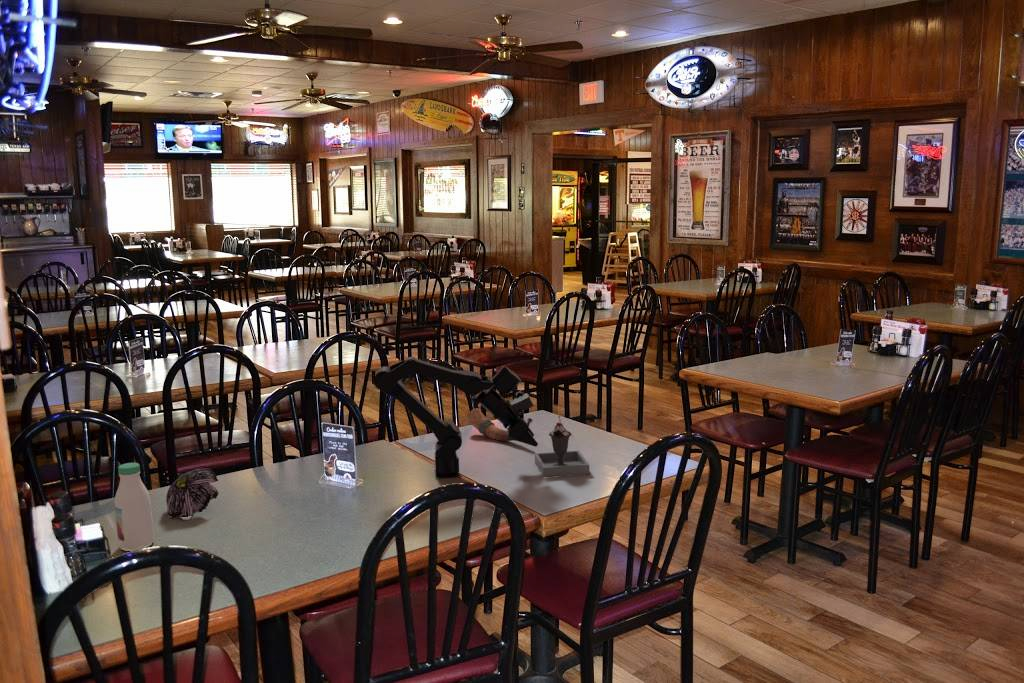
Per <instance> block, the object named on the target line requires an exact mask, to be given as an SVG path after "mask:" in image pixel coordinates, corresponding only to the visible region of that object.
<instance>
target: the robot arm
mask: <svg viewBox="0 0 1024 683" xmlns="http://www.w3.org/2000/svg"><path fill="white" fill-rule="evenodd" d="M410 374H415V375H418V376H420V377H421V376H422V377H424V378H427V379H428V378H429V379H431V380H434V381H439V382H441V383H445V384H448V385H451V386H453V387H455V388H456V389H457V390H459V391H461V392H463V393H464V394H467V395H470V396H472V397H471V398H472V406H473V408H476V407H477V406H478V405H479V404H480V405H481V406H482V407H483V408H484V409H485V410H487V411H488V412H489V413H490V414H491V415H492V417H493V419H495V420H497V421H499V422H500V424H502V425H503V426H502V427H503V428H504V429H506V431H507V434H508V437H509V438H511V439H512V441H515V442H519V443H523V444H526V445H529V446H532V447H538V446H539V443H538V442H537V440H536V438H534V436H535V434H534V432H533V431H532V429H531V428H530V425H528V423H527V422H528V421H527V420H525V416H524V415H525V414H524V411H525V410H527V409H530V408H533V407H534V403H533V401H532V399H531V397H530V395H529V393H526V392H525V393H523V392H522V391H518V392H515V398H513V400H511V401H510V400H509V399H505V398H504V397H502V396H505V395H509V394H510V393H511V392H513V390H515V388H516V387H517V386H518V385H519V384H520V383H521V382H522V380H521V378H520V377H519V376H518V375H517V374H516V372H514V371H513V370H511V369H510V368H509V367H507V366H506V365H502V366H501V368H500V369H499V370H498V371H497V373H496V374H494V376H489V375H487V376H486V375H481V374H479V373H478V372H476V371H472V370H471V371H470V370H457V369H456V370H455V369H450V368H448V367H445V366H443V365H442V366H441V365H438V364H434V363H432V362H428V361H425V360H421V359H418V358H416V357H414V356H408V357H406V358H405V359H404V360H401V361H399V362H396V363H394V364H392V365H389V366H381V367H379V368H378V369H377V370H376V372H375V375H374V377H373V385H374V387H375V388H376V389H377V390H379V391H380V392H382V393H383V394H385V395H387V396H388V397H391V398H394V399H395V400H397V401H398V402H399V403H400V404H401V405H402V406H404V407H405V408H406V409H407V410H408V411H409V412H410V413H411V414H413V416H415V417H416V418H417V419H418V421H421V423H423V424H424V425H425V426H426V427H427V428H428V429H429V430H431V432H432V433H433V435H434V437H435V438H436V440H437V441H436V442H435V448H434V449H435V450H434V451H435V452H434V474H435V475H434V476H435V478H436V477H437V479H439V478H438V477H442V478H453V477H459V473H460V459H459V456H458V455H457V451H458V450H460V448H461V447H462V445H463V441H462V440H463V437H462V432H461V430H460V426H458V425H457V424H455V423H454V422H453V420H452V419H451V418H448V419H447V421H445V420H443V419H442V418H440V417H439V416H438V415H437V414H435V412H433V411H432V410H431V409H430V408H429V407H428V406H427V405H425V404H424V403H423V401H421V400H420V399H419V398H418V397H417V396H416V395H414V394H413V393H412V392H411V391H410V390H409V389H408V388H407V387H406V386H405V385H404V383H403V381H402V379H404V378H406V377H407V376H409V375H410ZM497 391H498V392H497Z"/></svg>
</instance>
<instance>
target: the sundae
mask: <svg viewBox="0 0 1024 683" xmlns="http://www.w3.org/2000/svg"><path fill="white" fill-rule="evenodd" d="M560 417H561V416H560V415H558V419H559V420H558V422H556V425H555V426H554V427H553V429H552V430H551V431H550V432H549V433H548V436H549V437H551V443H552V450H553V452H555V453H556V454H557V455H558V463H557V464H554V465H553V466H563V465H567V464H564V463H563V459H562V456H563V455H564V454H565V453H566V452H567V451H568V447H569V438H570V437H571V436H572V432H571V431H568V430H567V429H566V427H565V426H564V425H563V423H562V419H561V418H560Z"/></svg>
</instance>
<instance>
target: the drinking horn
mask: <svg viewBox="0 0 1024 683" xmlns="http://www.w3.org/2000/svg"><path fill="white" fill-rule="evenodd" d="M465 419H466V420H467V422H468V423H470V425H471V426H472V427H474V428H475V429H476V430H477V431H478V432H479V434H481V435H483V436H485V437H488V438H490V439H492V440H495V439H496V441H499V440H500V441H501V442H512V441H513V440H512V439H511V438H509V437H508V434H507V430H504V429H501V428H500V427H498V426H496V425H495V423H494V422H493V421H492V420H490V419H489V418H487V416H485V415H484V414H483V412H482V411H481V410H480V408H478V407H477V408H476V407H474V408H473V409H472V410H470V411H469V412H468V413H467V414H466V416H465ZM533 421H534V420H533V419H532V418H531V417H528V418H527V419H526V422H527V423H528V425H529V426H530V424H531V423H533Z"/></svg>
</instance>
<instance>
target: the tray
mask: <svg viewBox="0 0 1024 683" xmlns="http://www.w3.org/2000/svg"><path fill="white" fill-rule="evenodd" d="M562 459H563V463H564V464H567V465H563V466H553V465H554V464H557V463H558V455H557V454H556V453H555V452H554V451H552V452H550V451H549V452H535V453H534V464H535V465H537V466H536V467H538V468H537V469H538V472H541V473H540V475H541V474H542V475H541V477H542V478H543V477H547V478H556V477H555V476H562V477H570V476H569V475H576V476H587V474H589V475H590V463H588V461H587V460H586V458H585V457H584V455H583V454H582V453H581V452H580V450H567V452H566V453H565V454H564V455H563V456H562Z"/></svg>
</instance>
